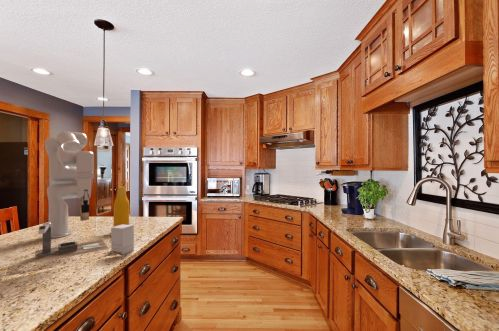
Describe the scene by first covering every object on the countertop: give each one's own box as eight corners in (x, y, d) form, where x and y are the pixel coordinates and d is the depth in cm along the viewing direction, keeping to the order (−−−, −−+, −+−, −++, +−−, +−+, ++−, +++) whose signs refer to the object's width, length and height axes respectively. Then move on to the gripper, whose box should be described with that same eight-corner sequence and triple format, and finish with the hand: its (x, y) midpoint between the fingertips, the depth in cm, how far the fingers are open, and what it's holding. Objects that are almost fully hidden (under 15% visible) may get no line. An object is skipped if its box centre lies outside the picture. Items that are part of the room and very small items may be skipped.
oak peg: (80, 219, 124) (80, 197, 124) (88, 218, 126) (88, 197, 126) (80, 220, 121) (80, 198, 121) (89, 220, 123) (89, 198, 123)
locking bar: (43, 226, 115) (43, 220, 115) (51, 225, 117) (51, 219, 117) (36, 234, 102) (36, 227, 102) (46, 233, 104) (46, 226, 104)
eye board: (35, 252, 120) (35, 225, 120) (101, 241, 138) (102, 217, 138) (34, 265, 104) (34, 233, 104) (109, 251, 122) (109, 223, 122)
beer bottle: (129, 229, 167) (129, 186, 167) (129, 232, 158) (129, 187, 159) (113, 230, 163) (114, 186, 163) (112, 233, 154) (113, 187, 155)
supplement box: (134, 250, 124) (134, 225, 124) (122, 255, 117) (122, 228, 117) (123, 248, 126) (123, 223, 127) (110, 253, 119) (110, 227, 120)
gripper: (74, 175, 128) (74, 210, 128) (77, 176, 115) (76, 215, 115) (91, 175, 133) (91, 209, 132) (96, 176, 120) (95, 213, 119)
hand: (84, 211), depth 124 cm, fingers closed on oak peg, 3 cm apart
